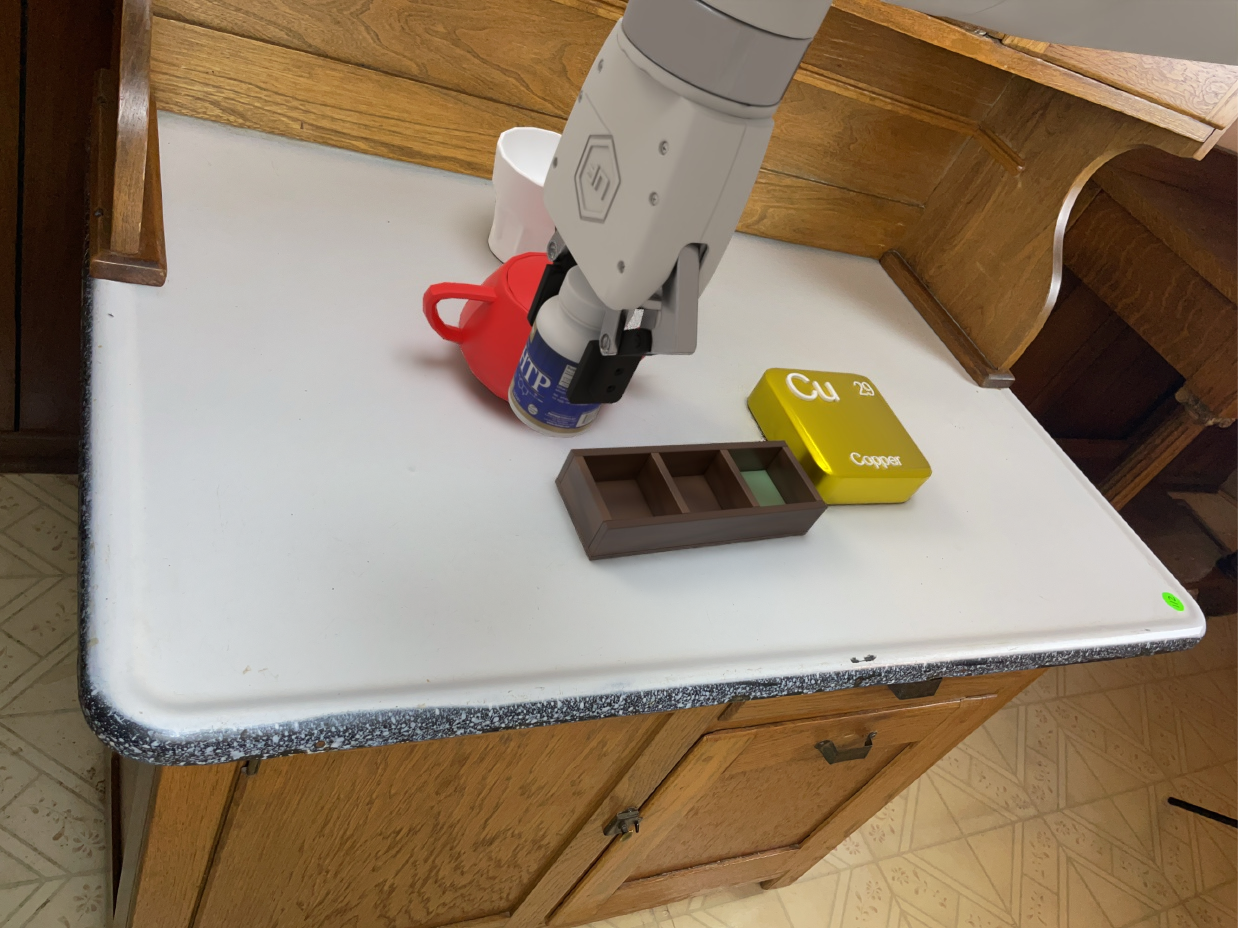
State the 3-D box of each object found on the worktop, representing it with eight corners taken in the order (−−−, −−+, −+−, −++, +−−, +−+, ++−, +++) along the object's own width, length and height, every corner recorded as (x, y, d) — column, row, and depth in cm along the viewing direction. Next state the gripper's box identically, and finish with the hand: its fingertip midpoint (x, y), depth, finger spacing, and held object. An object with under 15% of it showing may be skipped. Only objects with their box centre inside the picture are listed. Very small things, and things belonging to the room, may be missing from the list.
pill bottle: (496, 374, 50) (541, 249, 44) (576, 378, 53) (629, 260, 47) (520, 441, 47) (572, 315, 41) (604, 441, 50) (664, 323, 44)
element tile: (802, 506, 81) (829, 473, 78) (739, 394, 89) (761, 361, 86) (915, 504, 88) (943, 473, 85) (847, 400, 97) (870, 369, 93)
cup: (469, 205, 95) (496, 112, 87) (575, 235, 99) (609, 149, 92) (468, 270, 86) (498, 174, 79) (584, 300, 90) (622, 211, 83)
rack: (805, 534, 78) (828, 507, 76) (589, 560, 66) (607, 529, 64) (764, 467, 83) (784, 439, 80) (554, 481, 71) (570, 448, 68)
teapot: (417, 424, 69) (453, 307, 61) (396, 302, 79) (424, 186, 71) (682, 442, 81) (741, 345, 73) (636, 333, 90) (684, 237, 82)
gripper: (560, -70, 38) (462, 262, 50) (739, 136, 29) (567, 483, 41) (694, -29, 42) (574, 269, 54) (889, 163, 33) (692, 472, 45)
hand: (572, 358), depth 47 cm, fingers closed on pill bottle, 5 cm apart
